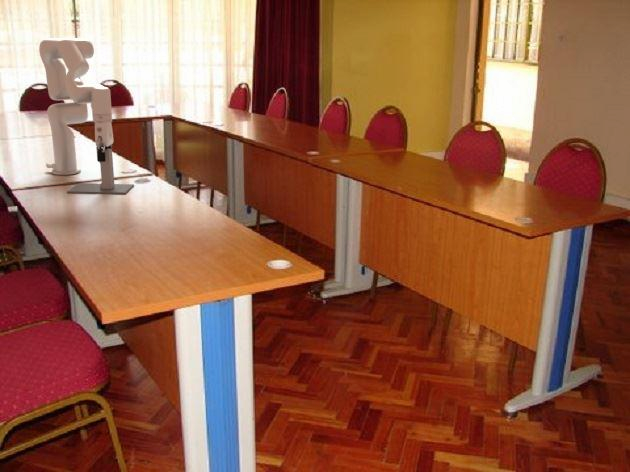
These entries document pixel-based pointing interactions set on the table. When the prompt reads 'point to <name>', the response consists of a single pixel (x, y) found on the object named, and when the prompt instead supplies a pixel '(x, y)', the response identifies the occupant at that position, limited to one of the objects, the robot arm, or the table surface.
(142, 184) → the table surface
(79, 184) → the mat
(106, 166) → the vintage mobile phone
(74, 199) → the table surface
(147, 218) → the table surface
